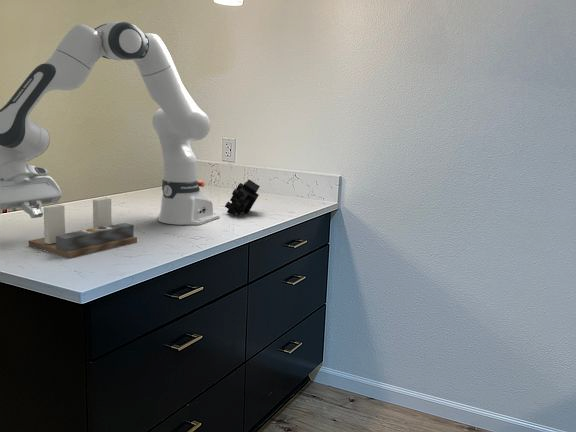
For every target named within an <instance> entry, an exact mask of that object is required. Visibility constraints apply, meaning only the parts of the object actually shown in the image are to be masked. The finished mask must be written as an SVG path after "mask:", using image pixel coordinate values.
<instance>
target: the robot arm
mask: <svg viewBox="0 0 576 432" xmlns="http://www.w3.org/2000/svg"><path fill="white" fill-rule="evenodd" d="M168 50H169V49H167V46H166V45H165V43H164V41H163V40H162V39H161V37H160V36H159V35H157V34H155V33H152V32H151V33H144V32H143V31H142V30H141V29H140V28H139V27H138V26H136V25H135V24H133V23H131V22H126V21H112V22H109V23H104V24H101V25H99V26H97V27H96V28H93V27H92V26H89V25H86V24H84V23H83V24H81V23H80V24H79V23H77V24H75V25H74V26H73V27H71V29H70V30H69V31H67V33H66V34H65V35H64V36H63V38H62V39H61V41H60V42H59V44H58V45H57V46H56V49H55V50H54V52H53V53H52V54H51V56H50V57H49V58H48V59H47V60H46V61H45V62H44V63H41V64H38V66H36V67H35V68H34V69H33V70H32V71H31V73H29V75H28V76H27V77H26V78H25V80H24V81H23V82H22V83H21V84H20V86H19V87H18V89H16V91H15V93H14V94H13V95H12V96H11V97H10V99H9V100H8V101H7V103H6V104H5V105H4V106H2V108H0V211H4V210H11V209H17V208H21V211H23V212H25V213H26V214H28V215H29V216H30V218H31V219H36V218H37V219H38V218H42V217H44V211H43V210H42V205H48V204H49V205H50V204H56V203H58V202H59V201H60V200H61V198H62V196H63V191H62V190H61V188H60V186H59V185H58V183H57V182H56V181H55V179H54V178H53V177H52V176H50V175H49V174H50V172H49V171H50V170H48V169H47V168H45V167H40V166H35V165H32V164H28V163H27V162H29V161H31V160H33V159H36V158H37V157H39V156H41V155H43V153H45V152H46V150H48V148H49V146H50V137H51V136H50V133H49V132H48V130H47V129H46V128H45V127H43V126H41V125H39V123H36V122H35V121H33V120H30V118H29V115H30V114H31V113H32V111H33V110H34V108H35V107H36V106H37V105H38V103H39V102H40V101H41V99H42V98H43V97H44V95H46V94H47V93H49V92H51V91H56V90H57V91H58V90H59V91H72V90H75V89H78V88H80V87H81V86H82V85H83V84H84V83H85V82H86V81H87V79H88V77H89V76H90V74H91V72H92V71H93V69H94V66H95V64H96V63H97V62H98V61H99V60H100V59H101V58H104V59H108V60H114V61H124V60H125V61H126V60H127V61H129V60H131V61H133V62H134V63H135V64H136V66H137V68H138V72H139V73H140V76H141V78H142V80H143V83H144V85H145V87H146V90H147V91H148V93H149V94H148V95H149V96H150V98H151V99H152V100H153V101H154V102H155V103H156V104H157V105H158V107H160V108H159V109H157V110H156V111H155V112H154V114H153V115H152V119H151V121H152V127H153V129H154V130H155V132H156V134H157V137H158V139H159V143H160V148H161V153H162V159H163V162H162V163H163V179H162V183H161V190H162V196H161V203H160V213H159V214H158V221H159V222H160V223H163V224H168V225H180V226H181V225H195V226H198V225H202V224H205V223H209V222H212V221H214V220H217V219H219V218H220V215H219V214H218V213H215V212H214V207H213V202H212V200H210V198H209V197H207V196H206V195H205V194H204V193H203V192H201V191H200V187H201V188H202V187H203V188H204V187H205V184H206V182H205V181H202V180H197V157H196V155H195V153H194V151H193V150H192V147H191V142H195V141H199V140H204V139H205V138H206V137H207V136H208V135H209V132H210V129H211V121H210V118H209V116H208V115H207V114H206V113H205V112H204V111H203V110H201V108H200V107H199V106H198V105H197V104H196V102H195V101H194V99H193V98H192V96H191V95H190V94H189V92H188V90H187V89H186V87H185V86H184V84H183V81H182V80H181V78H180V75H179V73H178V70H177V68H176V65H175V63H174V60H173V59H172V56H171V54H170V52H169V51H168ZM32 207H33V208H34V209H33V208H32Z"/></svg>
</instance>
